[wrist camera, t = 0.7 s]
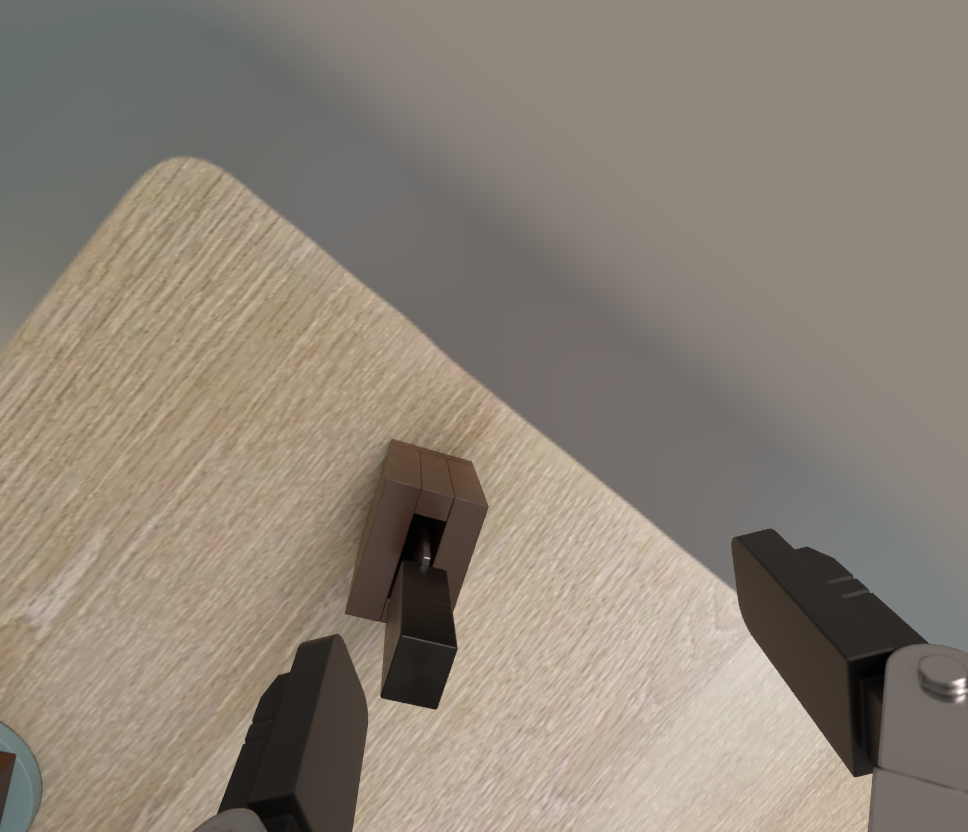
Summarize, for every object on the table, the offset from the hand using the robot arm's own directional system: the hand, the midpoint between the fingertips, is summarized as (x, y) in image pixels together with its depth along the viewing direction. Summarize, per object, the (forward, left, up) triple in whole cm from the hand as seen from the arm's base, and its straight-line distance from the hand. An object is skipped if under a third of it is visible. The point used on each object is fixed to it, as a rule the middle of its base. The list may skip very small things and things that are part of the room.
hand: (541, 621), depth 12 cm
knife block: (-1, -6, -25) cm, 25 cm away
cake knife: (-1, -6, -24) cm, 24 cm away
